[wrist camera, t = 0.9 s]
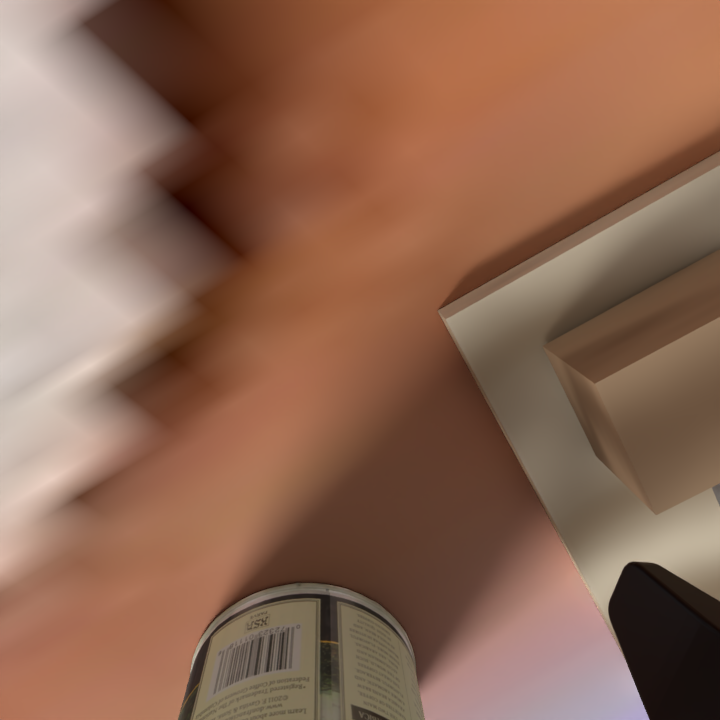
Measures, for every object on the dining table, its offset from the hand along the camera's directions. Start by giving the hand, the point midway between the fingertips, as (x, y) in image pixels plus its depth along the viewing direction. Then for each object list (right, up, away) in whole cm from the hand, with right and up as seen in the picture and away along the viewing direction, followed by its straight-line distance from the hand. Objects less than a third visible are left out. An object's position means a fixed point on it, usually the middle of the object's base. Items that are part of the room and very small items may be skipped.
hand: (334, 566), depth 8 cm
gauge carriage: (+13, +3, +12) cm, 18 cm away
